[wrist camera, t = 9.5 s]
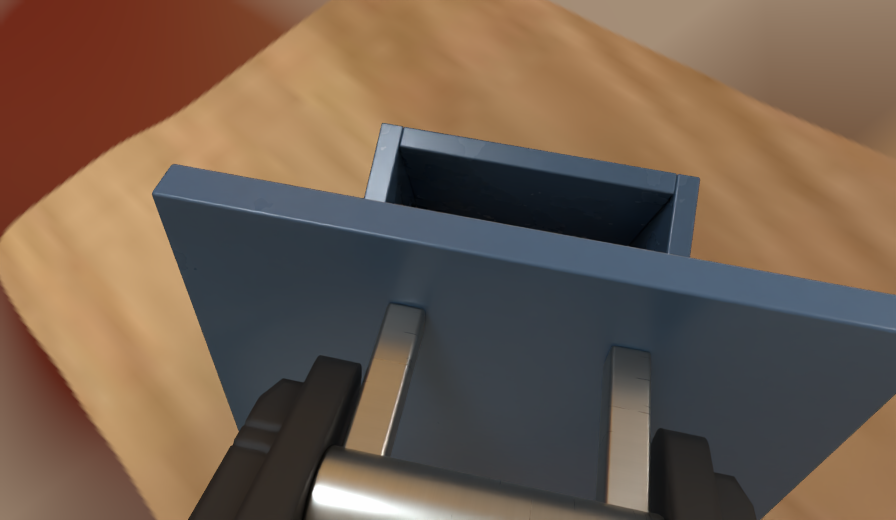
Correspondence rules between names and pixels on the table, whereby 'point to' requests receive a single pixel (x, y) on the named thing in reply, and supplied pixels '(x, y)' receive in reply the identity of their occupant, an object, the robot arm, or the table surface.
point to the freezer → (535, 189)
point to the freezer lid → (518, 352)
